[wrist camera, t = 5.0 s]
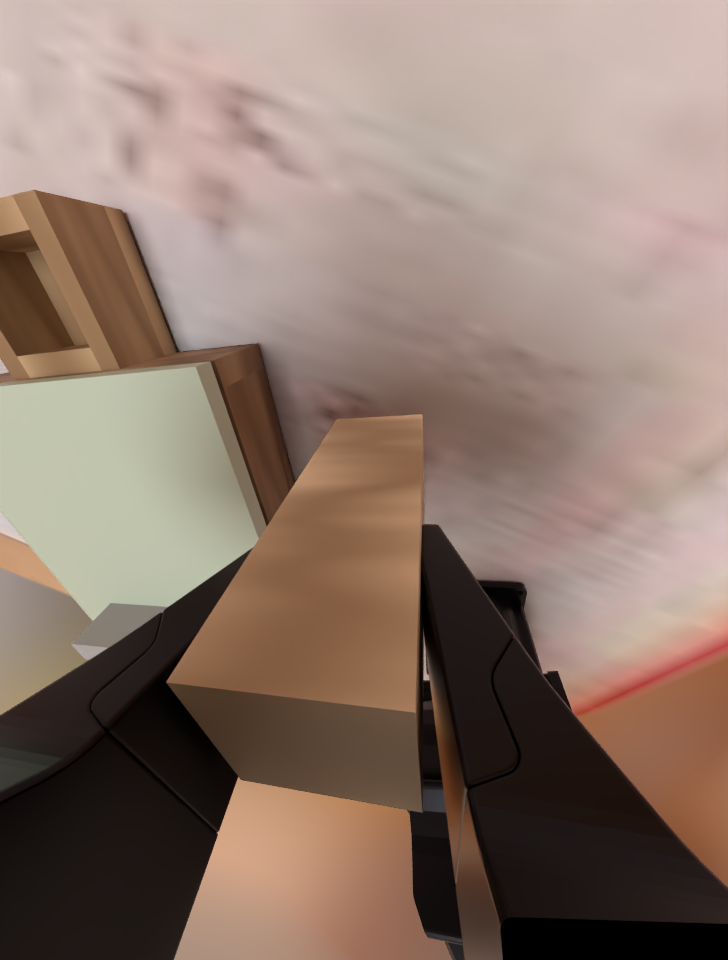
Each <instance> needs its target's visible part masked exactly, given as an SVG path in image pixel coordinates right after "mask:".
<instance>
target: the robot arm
mask: <svg viewBox="0 0 728 960" xmlns="http://www.w3.org/2000/svg"><path fill="white" fill-rule="evenodd" d="M252 549H253V548H251V549H250V550H248V551H247V552H246V553H244V554H243V555H241V556H240V557H238V558H237V559H236V560H234V561H233V562H231V563H230V564H228V565H227V566H226V567H224V568H223V569H221V570H220V571H218V572H217V573H216V574H214V575H213V576H211V577H210V578H208V579H207V580H206V581H204V582H203V583H201V584H200V585H198V586H197V587H196V588H194V589H193V590H191V591H190V592H189V593H187V594H186V595H184V596H183V597H181V598H180V599H179V600H177V601H176V602H174V603H173V604H171V605H170V606H169V607H167V608H166V609H164V611H163V613H162V612H160V613H158V614H157V615H156V616H154V617H153V618H151V619H150V620H149V621H147V622H146V623H144V624H143V625H141V626H140V627H138V628H137V629H135V630H134V631H133V632H131V633H130V634H128V635H127V636H125V637H124V638H122V639H121V640H119V641H118V642H116V643H115V644H113V645H112V646H110V647H109V648H107V649H105V650H104V651H102V652H101V653H99V654H98V655H96V656H95V657H93V658H91V659H90V660H88V661H87V662H85V663H84V664H82V665H80V666H79V667H77V668H75V669H74V670H72V671H71V672H69V673H67V674H66V675H65V676H63V677H61V678H60V679H58V680H56V681H55V682H53V683H51V684H50V685H48V686H47V687H45V688H43V689H42V690H40V691H39V692H37V693H35V694H34V695H32V696H31V697H29V698H28V699H26V700H24V701H23V702H21V703H20V704H18V705H17V706H15V707H13V708H11V709H10V710H8V711H7V712H5V713H3V714H2V715H0V960H174V958H175V955H176V952H177V949H178V946H179V943H180V941H181V938H182V935H183V932H184V929H185V926H186V924H187V921H188V918H189V915H190V912H191V909H192V906H193V904H194V901H195V898H196V895H197V892H198V890H199V887H200V884H201V881H202V878H203V876H204V873H205V870H206V867H207V864H208V861H209V859H210V856H211V853H212V850H213V847H214V844H215V841H216V839H217V836H218V834H217V832H218V831H219V830H220V827H221V824H222V821H223V818H224V815H225V812H226V810H227V807H228V804H229V801H230V798H231V795H232V793H233V790H234V787H235V784H236V781H237V779H238V775H237V774H236V773H235V771H234V770H233V769H232V767H231V766H230V765H229V764H228V762H227V761H226V760H225V758H224V757H223V756H222V754H221V753H220V752H219V751H218V749H217V748H216V747H215V745H214V744H213V743H212V741H211V740H210V739H209V738H208V736H207V735H206V734H205V732H204V731H203V730H202V728H201V727H200V726H199V725H198V723H197V722H196V721H195V719H194V718H193V717H192V715H191V714H190V713H189V712H188V710H187V709H186V708H185V706H184V705H183V704H182V702H181V701H180V700H179V699H178V697H177V696H176V695H175V693H174V692H173V691H172V689H171V688H170V687H169V686H168V684H167V683H166V682H167V680H168V678H169V677H170V675H171V674H172V672H173V671H174V669H175V668H176V666H177V665H178V663H179V662H180V660H181V658H182V657H183V655H184V654H185V652H186V651H187V649H188V648H189V646H190V645H191V643H192V641H193V640H194V638H195V637H196V635H197V634H198V632H199V631H200V629H201V628H202V626H203V624H204V623H205V621H206V620H207V618H208V617H209V615H210V614H211V612H212V611H213V609H214V607H215V606H216V604H217V603H218V601H219V600H220V598H221V597H222V595H223V594H224V592H225V591H226V589H227V587H228V586H229V584H230V583H231V581H232V580H233V578H234V577H235V575H236V574H237V572H238V570H239V569H240V567H241V566H242V564H243V563H244V561H245V560H246V558H247V557H248V555H249V553H250V552H251V550H252ZM421 584H422V610H423V630H424V638H425V646H426V669H427V674H428V675H429V678H430V680H426V681H423V813H422V812H416V811H411V810H407V811H408V812H409V814H410V821H411V833H412V861H413V896H414V900H415V904H416V907H417V910H418V913H419V916H420V919H421V922H422V926H423V929H424V931H425V933H426V935H427V937H429V938H431V939H436V940H441V941H445V944H446V946H447V948H448V950H449V953H450V955H451V957H452V959H453V960H728V887H727V886H726V885H725V884H724V883H723V882H722V881H721V880H720V879H719V878H718V877H717V876H716V875H714V874H713V872H712V871H710V870H709V869H708V868H707V867H706V866H705V865H704V864H703V863H702V862H701V861H700V860H699V859H698V857H697V856H696V855H695V854H694V853H693V852H692V851H691V850H690V849H689V848H688V847H687V846H686V845H685V844H684V843H683V842H682V841H681V839H680V838H679V837H678V836H677V835H676V834H675V832H674V831H673V830H672V829H671V828H670V827H669V826H668V824H667V823H666V822H665V821H664V820H663V819H662V818H661V816H660V815H659V814H658V813H657V812H656V811H655V809H654V808H653V807H652V806H651V804H650V803H649V802H648V801H647V800H646V799H645V798H644V796H643V795H642V794H641V793H640V791H639V790H638V789H637V788H636V787H635V786H634V784H633V783H632V782H631V781H630V780H629V778H628V777H627V776H626V775H625V774H624V773H623V771H622V770H621V769H620V768H619V767H618V765H617V764H616V763H615V762H614V761H613V760H612V758H611V757H610V756H609V755H608V754H607V752H606V751H605V750H604V749H603V748H602V747H601V745H600V744H599V743H598V742H597V741H596V739H595V738H594V737H593V736H592V735H591V734H590V732H589V731H588V730H587V729H586V728H585V727H584V725H583V724H582V723H581V722H580V721H579V719H578V718H577V717H576V716H575V714H574V713H573V712H572V710H571V707H570V704H569V701H568V699H567V696H566V693H565V690H564V688H563V685H562V682H561V679H560V677H559V674H558V671H549V672H548V673H546V674H543V673H542V670H541V666H540V663H539V660H538V656H537V653H536V649H535V646H534V643H533V639H532V636H531V633H530V629H529V626H528V623H527V619H526V616H525V613H524V605H525V600H526V595H527V591H526V588H525V586H524V585H522V584H519V583H494V582H478V581H477V580H476V578H475V577H474V576H473V574H472V573H471V571H470V570H469V568H468V567H467V565H466V564H465V563H464V561H463V560H462V558H461V557H460V555H459V554H458V552H457V551H456V550H455V548H454V547H453V545H452V544H451V542H450V541H449V540H448V538H447V537H446V535H445V534H444V532H443V531H442V529H441V528H440V527H439V526H438V525H436V524H423V525H422V539H421ZM519 590H520V591H519Z"/></svg>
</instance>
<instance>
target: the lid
mask: <svg viewBox="0 0 728 960" xmlns="http://www.w3.org/2000/svg"><path fill="white" fill-rule="evenodd" d="M0 512H1V513H2V514H3V515H4V517H5V518H6V519H7V520H8V521H9V523H10V524H11V525H12V526H13V527H14V528H15V530H16V531H17V532H18V533H19V534H20V536H21V537H22V538H23V539H24V540H25V542H26V543H27V544H28V545H29V546H30V547H31V549H32V550H33V551H34V552H35V553H36V555H37V556H38V557H39V558H40V559H41V560H42V562H43V563H44V564H45V565H46V566H47V568H48V569H49V570H50V571H51V572H52V573H53V575H54V576H55V577H56V578H57V579H58V581H59V582H60V583H61V584H62V585H63V587H64V588H65V589H66V590H67V591H68V592H69V594H70V595H71V596H72V597H73V598H74V600H75V601H76V602H77V603H78V604H79V605H80V607H81V608H82V609H83V610H84V611H85V613H86V614H87V615H88V616H89V617H90V618H91V620H92V621H93V622H92V623H91V624H90V625H89V626H88V627H87V628H86V629H85V630H84V631H83V632H82V633H81V634H80V635H79V636H78V637H77V638H76V639H75V640H74V641H73V642H72V643H71V645H72V646H73V647H74V648H75V649H76V650H77V651H78V652H79V653H80V654H81V655H82V656H83V657H84V658H85V659H89V660H90V659H91V658H93V657H95V656H96V655H98V654H99V653H101V652H102V651H104V650H105V649H107V648H109V647H110V646H112V645H113V644H115V643H116V642H118V641H119V640H121V639H122V638H124V637H125V636H127V635H128V634H130V633H131V632H133V631H134V630H135V629H137V628H138V627H140V626H141V625H143V624H144V623H146V622H147V621H149V620H150V619H151V618H153V617H154V616H156V615H157V614H158V613H160V612H162V613H163V611H164V609H166V608H167V607H169V606H170V605H171V604H173V603H174V602H176V601H177V600H179V599H180V598H181V597H183V596H184V595H186V594H187V593H189V592H190V591H191V590H193V589H194V588H196V587H197V586H198V585H200V584H201V583H203V582H204V581H206V580H207V579H208V578H210V577H211V576H213V575H214V574H216V573H217V572H218V571H220V570H221V569H223V568H224V567H226V566H227V565H228V564H230V563H231V562H233V561H234V560H236V559H237V558H238V557H240V556H241V555H243V554H244V553H246V552H247V551H248V550H250V549H251V548H253V547H254V546H255V544H256V543H257V541H258V540H259V538H260V536H261V535H262V533H263V532H264V530H265V529H266V527H267V526H266V523H265V520H264V517H263V514H262V511H261V508H260V506H259V503H258V500H257V497H256V494H255V491H254V488H253V485H252V482H251V479H250V476H249V473H248V470H247V468H246V465H245V462H244V459H243V456H242V453H241V450H240V447H239V444H238V441H237V438H236V435H235V432H234V430H233V427H232V424H231V421H230V418H229V415H228V412H227V409H226V406H225V403H224V400H223V397H222V394H221V392H220V389H219V386H218V383H217V380H216V377H215V374H214V371H213V368H212V365H211V362H200V363H190V364H180V365H170V366H160V367H151V368H141V369H131V370H121V371H111V372H102V373H92V374H82V375H72V376H62V377H52V378H43V379H33V380H23V381H13V382H3V383H0Z"/></svg>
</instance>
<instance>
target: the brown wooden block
mask: <svg viewBox="0 0 728 960" xmlns="http://www.w3.org/2000/svg"><path fill="white" fill-rule="evenodd" d="M423 524H424V455H423V416H422V414H418V415H401V416H383V417H365V418H347V419H336V421H335V422H334V424H333V425H332V427H331V428H330V430H329V432H328V433H327V435H326V436H325V438H324V439H323V441H322V442H321V444H320V445H319V447H318V449H317V450H316V452H315V453H314V455H313V456H312V458H311V459H310V461H309V462H308V464H307V466H306V467H305V469H304V470H303V472H302V473H301V475H300V476H299V478H298V479H297V481H296V482H295V484H294V486H293V487H292V489H291V490H290V492H289V493H288V495H287V496H286V498H285V499H284V501H283V503H282V504H281V506H280V507H279V509H278V510H277V512H276V513H275V515H274V516H273V518H272V520H271V521H270V523H269V524H268V526H267V527H266V529H265V530H264V532H263V533H262V535H261V536H260V538H259V540H258V541H257V543H256V544H255V546H254V547H253V549H252V550H251V552H250V553H249V555H248V557H247V558H246V560H245V561H244V563H243V564H242V566H241V567H240V569H239V570H238V572H237V574H236V575H235V577H234V578H233V580H232V581H231V583H230V584H229V586H228V587H227V589H226V591H225V592H224V594H223V595H222V597H221V598H220V600H219V601H218V603H217V604H216V606H215V607H214V609H213V611H212V612H211V614H210V615H209V617H208V618H207V620H206V621H205V623H204V624H203V626H202V628H201V629H200V631H199V632H198V634H197V635H196V637H195V638H194V640H193V641H192V643H191V645H190V646H189V648H188V649H187V651H186V652H185V654H184V655H183V657H182V658H181V660H180V662H179V663H178V665H177V666H176V668H175V669H174V671H173V672H172V674H171V675H170V677H169V678H168V680H167V682H166V683H167V684H168V686H169V687H170V688H171V689H172V691H173V692H174V693H175V695H176V696H177V697H178V699H179V700H180V701H181V702H182V704H183V705H184V706H185V708H186V709H187V710H188V712H189V713H190V714H191V715H192V717H193V718H194V719H195V721H196V722H197V723H198V725H199V726H200V727H201V728H202V730H203V731H204V732H205V734H206V735H207V736H208V738H209V739H210V740H211V741H212V743H213V744H214V745H215V747H216V748H217V749H218V751H219V752H220V753H221V754H222V756H223V757H224V758H225V760H226V761H227V762H228V764H229V765H230V766H231V767H232V769H233V770H234V771H235V773H236V774H237V775H238V777H239V778H240V779H241V780H244V781H250V782H256V783H261V784H267V785H272V786H278V787H283V788H289V789H294V790H300V791H305V792H311V793H316V794H322V795H328V796H334V797H339V798H345V799H350V800H356V801H361V802H367V803H372V804H378V805H383V806H388V807H394V808H399V809H405V810H411V811H416V812H422V813H423V652H424V630H423V610H422V584H421V539H422V525H423Z"/></svg>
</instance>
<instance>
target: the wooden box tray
mask: <svg viewBox="0 0 728 960" xmlns="http://www.w3.org/2000/svg"><path fill="white" fill-rule="evenodd" d="M0 358H1V360H2V362H3V363H4V365H5V366H6V368H7V369H8V371H9V372H8V373H4V374H0V383H3V382H13V381H23V380H33V379H43V378H52V377H62V376H72V375H82V374H92V373H102V372H111V371H121V370H131V369H141V368H151V367H160V366H170V365H180V364H190V363H200V362H211V365H212V368H213V371H214V374H215V377H216V380H217V383H218V386H219V389H220V392H221V394H222V397H223V400H224V403H225V406H226V409H227V412H228V415H229V418H230V421H231V424H232V427H233V430H234V432H235V435H236V438H237V441H238V444H239V447H240V450H241V453H242V456H243V459H244V462H245V465H246V468H247V470H248V473H249V476H250V479H251V482H252V485H253V488H254V491H255V494H256V497H257V500H258V503H259V506H260V508H261V511H262V514H263V517H264V520H265V523H266V526H268V524H269V523H270V521H271V520H272V518H273V516H274V515H275V513H276V512H277V510H278V509H279V507H280V506H281V504H282V503H283V501H284V499H285V498H286V496H287V495H288V493H289V492H290V490H291V489H292V487H293V486H294V484H295V483H294V479H293V475H292V471H291V467H290V464H289V460H288V456H287V452H286V449H285V445H284V441H283V437H282V433H281V430H280V426H279V422H278V418H277V414H276V411H275V407H274V403H273V399H272V396H271V392H270V388H269V384H268V380H267V377H266V373H265V369H264V365H263V361H262V358H261V354H260V350H259V346H258V343H257V344H248V345H239V346H230V347H221V348H212V349H202V350H193V351H184V352H177V351H176V349H175V346H174V344H173V341H172V338H171V336H170V333H169V331H168V328H167V326H166V323H165V320H164V318H163V315H162V313H161V310H160V307H159V305H158V302H157V300H156V297H155V295H154V292H153V289H152V287H151V284H150V282H149V279H148V276H147V274H146V271H145V269H144V266H143V263H142V261H141V258H140V256H139V253H138V251H137V248H136V245H135V243H134V240H133V238H132V235H131V232H130V230H129V227H128V225H127V222H126V220H125V217H124V214H123V212H122V210H119V209H115V208H110V207H106V206H102V205H97V204H93V203H89V202H84V201H80V200H76V199H71V198H67V197H63V196H58V195H54V194H50V193H45V192H41V191H37V190H31V191H27V192H23V193H19V194H15V195H11V196H7V197H3V198H0Z"/></svg>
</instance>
